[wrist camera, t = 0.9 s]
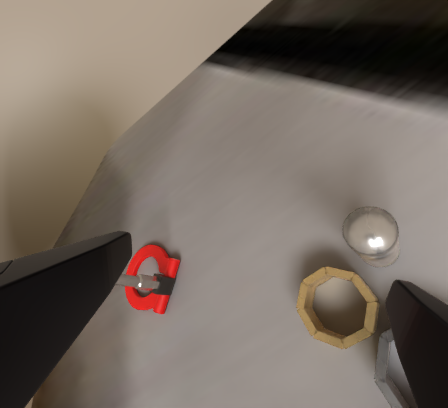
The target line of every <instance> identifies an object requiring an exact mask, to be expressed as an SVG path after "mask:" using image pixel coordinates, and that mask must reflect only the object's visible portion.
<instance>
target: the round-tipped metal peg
mask: <svg viewBox="0 0 448 408" xmlns="http://www.w3.org/2000/svg"><path fill="white" fill-rule="evenodd" d="M343 236H344V239H345V241H346V242H347V244H348V245H349V246H350V247H351V248H352V249H353V250H354V251H356V253H357V254H358V255H359V256H360V257H361V258H362V259H363V260H364V261H365V262H366V263H367V264H369V265H371V266H374V267H387V266H390V265H392V264H393V263H394V262H395V261H396V260H397V259H398V257H399V253H400V249H399V240H398V237H399V232H398V226H397V223H396V221H395V219H394V218H393V217H392V215H391V214H389V213H388V212H387V211H385V210H383V209H380V208H377V207H362V208H359V209H357V210H355V211H353V212H352V213H350V214H349V215H348V216H347V218H346V219H345V221H344V224H343Z"/></svg>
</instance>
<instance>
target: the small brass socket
mask: <svg viewBox="0 0 448 408" xmlns="http://www.w3.org/2000/svg"><path fill="white" fill-rule="evenodd" d="M332 277H336V278H340V279H344V280H348V281H352V282H353V283H354V285H355V286H356V287H357V289H358V290H359V291H360V293H361V294H362V296H363V297H364V298H365V300H366V301H367V308H366V315H365V322H364V328H363V329H361V330H359V331H357V332H355V333H354V334H352V335H350V336H348V337H347V336H344V335H341V334H338V333H335V332H333V331H330V330H327V329H324V327H323V325H322V324H321V322H320V320H319V319H318V317H317V315H316V314H315V312H314V310H313V309H312V307H313V301H314V295H315V290H316V287H318V286H319V285H321V284H322V283H324V282H326V281H327V280H329V279H331V278H332ZM303 282H304V283H302V282H301V285H300V291H299V296H298V301H297V306H296V308H299V309H298V310H297V312H298V313H299V315H300V317H301V319H302V321H303V322H304V324H305V326H306V328H307V329H308V331H309V333H310V335H311V336H313V335H314V338H315V339H317V340H320V341H322V342H325V343H328V344H330V345H333V346H335V347H338V348H341V349H343V348H345V349H347V348H348V347H350V346H352V345H354V344H356V343H358V342H360V341H362V340H364V339H366V338H368V337H370V336H371V335H373V334H374V332H375V331H376V328H377V320H378V313H379V305H380V303H377V301H379V300H378V299H377V297H376V296H375V295H374V293H373V292H372V291H371V289H370V288H369V287H368V286H367V284H366V283H365V282H364V280H363V279H362V278H361V277H360V276H359V275H357V274H356V273H354V272H349V271H345V270H340V269H336V268H331V267H327V266H326V268H325V267H322V268H321V269H319V270H318V271H316V272H315V273H313V274H311V275H310V276H308V277H307V278H305V279H304V280H303Z"/></svg>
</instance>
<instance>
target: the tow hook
mask: <svg viewBox="0 0 448 408" xmlns="http://www.w3.org/2000/svg"><path fill="white" fill-rule="evenodd" d="M150 256H153V257H154V258H155V259H156V260H157V262H158V266H159V271H160V272H161V273H163V274H164V275H162V274H154V276H149V275H142V274H140V275H137V276H136V274H137V271H138V268H139V266H140V265H141V263H142V262H143V261H144V260H145V259H146V258H148V257H150ZM179 263H180V260H178V259H175V258H169V257H168V254H167V253H166V251H165V250H164V249H163V248H161V247H160V246H156V245H146V246H145V247H143V248H141V249H140V250H139V251H138V252H137V253H136V254H135V256H134V257H133V258H132V260H131V262H130V264H129V266H128V270H127V273H126V274H121V276H120V277H119V279H118V281H117V282H116V284H115V285H119V286H125V292H126V297H127V299H128V301H129V303H130V304H131V306H132V307H133V308H135V309H137V310H148V309H151V308H153V309H154V310H153V311H154V312H156V313H158V314H164V313H165V310H166V306H167V303H168V300H169V296H170V295H171V293H172V289H173V286H174V283H175V276H176V273H177V270H178V266H179ZM137 289H139V290H149V291H150V292H152V293H151V294H149V295H148V296H146V297H141V296H140V295H139V294H138V292H137Z"/></svg>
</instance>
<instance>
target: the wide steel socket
mask: <svg viewBox="0 0 448 408" xmlns="http://www.w3.org/2000/svg"><path fill="white" fill-rule="evenodd" d="M393 340H394V338H393V334H392V330H391V328H390V329H388V330H386V331H384V332H383V333H382V334H381V336H380V337H379V345H378V353H377V361H376V369H375V376H374V379H376V381H375V383H376V384H377V386H378V387H379V389H380V390H381V392H382V393H383V395H384V397H385V398H386V400H387V401H388V403H389V404H390V406H391V408H410V407H409V405H408V404H407V402H406V401H405V399H404V398H403V396H402V395H401V393H400V392H399V390H398V389H397V387H396V386H395V384H394V383H393V381H392V380H391V378H390V377H389V375H388V374H387V369H388V361H389V352H390V344H391V341H393Z"/></svg>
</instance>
